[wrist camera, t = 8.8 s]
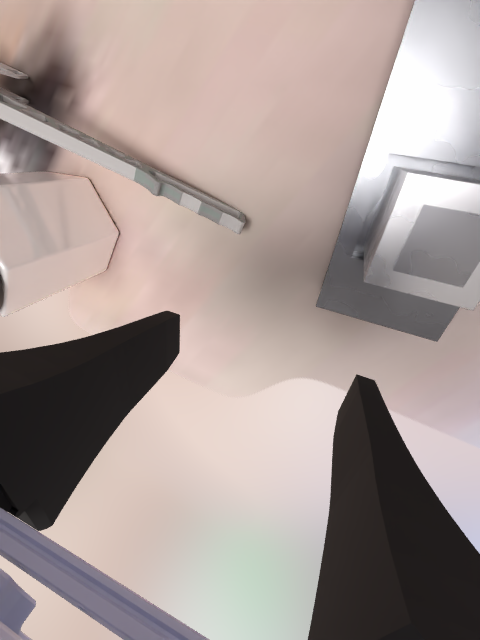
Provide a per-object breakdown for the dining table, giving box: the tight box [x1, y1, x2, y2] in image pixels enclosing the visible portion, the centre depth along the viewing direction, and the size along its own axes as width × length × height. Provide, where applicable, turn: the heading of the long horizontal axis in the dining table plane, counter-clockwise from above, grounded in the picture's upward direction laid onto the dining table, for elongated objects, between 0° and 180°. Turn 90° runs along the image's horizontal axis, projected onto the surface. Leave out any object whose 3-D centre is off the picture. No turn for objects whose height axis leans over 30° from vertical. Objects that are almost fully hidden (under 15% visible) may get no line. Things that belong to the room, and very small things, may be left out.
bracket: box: [0, 62, 246, 234], centre depth 18 cm, size 3×21×10 cm, turn 65°
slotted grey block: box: [364, 166, 480, 310], centre depth 12 cm, size 4×4×6 cm
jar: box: [0, 171, 119, 317], centre depth 20 cm, size 9×8×12 cm
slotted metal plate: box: [316, 0, 480, 341], centre depth 12 cm, size 7×22×2 cm, turn 172°
